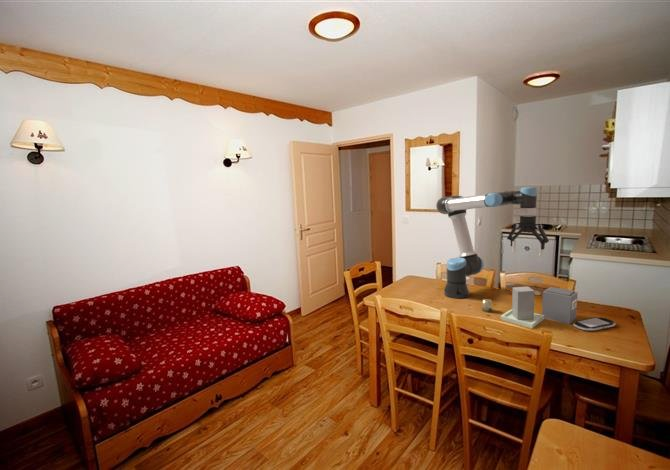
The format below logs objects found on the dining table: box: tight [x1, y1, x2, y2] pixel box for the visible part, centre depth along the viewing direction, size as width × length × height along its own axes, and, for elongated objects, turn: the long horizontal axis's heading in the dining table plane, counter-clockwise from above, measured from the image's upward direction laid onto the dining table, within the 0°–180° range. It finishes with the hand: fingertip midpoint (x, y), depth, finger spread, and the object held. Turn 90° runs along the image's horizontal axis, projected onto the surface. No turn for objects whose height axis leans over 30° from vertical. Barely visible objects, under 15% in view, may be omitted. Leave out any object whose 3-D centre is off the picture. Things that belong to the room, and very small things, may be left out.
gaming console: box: [572, 316, 616, 332], centre depth 153 cm, size 19×9×2 cm, turn 103°
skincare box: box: [511, 286, 536, 320], centre depth 163 cm, size 8×7×16 cm
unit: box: [541, 286, 578, 325], centre depth 162 cm, size 12×10×15 cm
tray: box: [500, 308, 545, 329], centre depth 165 cm, size 15×15×2 cm
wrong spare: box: [481, 298, 493, 313], centre depth 178 cm, size 5×5×6 cm
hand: (526, 253), depth 176 cm, fingers open, 13 cm apart
